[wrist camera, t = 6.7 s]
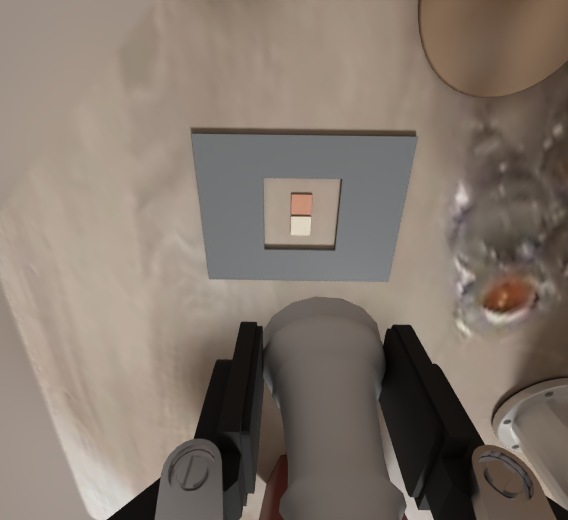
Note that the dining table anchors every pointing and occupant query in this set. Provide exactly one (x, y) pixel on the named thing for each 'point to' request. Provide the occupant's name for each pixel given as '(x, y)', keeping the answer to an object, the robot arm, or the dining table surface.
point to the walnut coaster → (494, 42)
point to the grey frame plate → (301, 203)
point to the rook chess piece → (330, 411)
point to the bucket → (278, 491)
